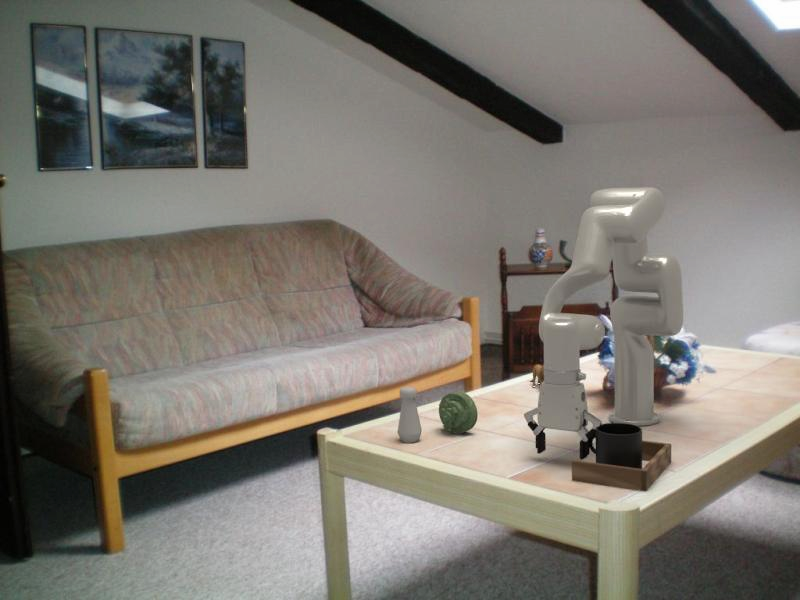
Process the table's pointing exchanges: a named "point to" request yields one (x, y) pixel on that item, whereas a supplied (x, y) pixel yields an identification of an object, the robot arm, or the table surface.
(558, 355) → the robot arm
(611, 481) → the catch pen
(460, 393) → the decorative artifact
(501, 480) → the table surface
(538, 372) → the lion figurine
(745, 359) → the table surface
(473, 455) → the table surface
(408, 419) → the salt shaker
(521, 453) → the table surface
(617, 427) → the mug
